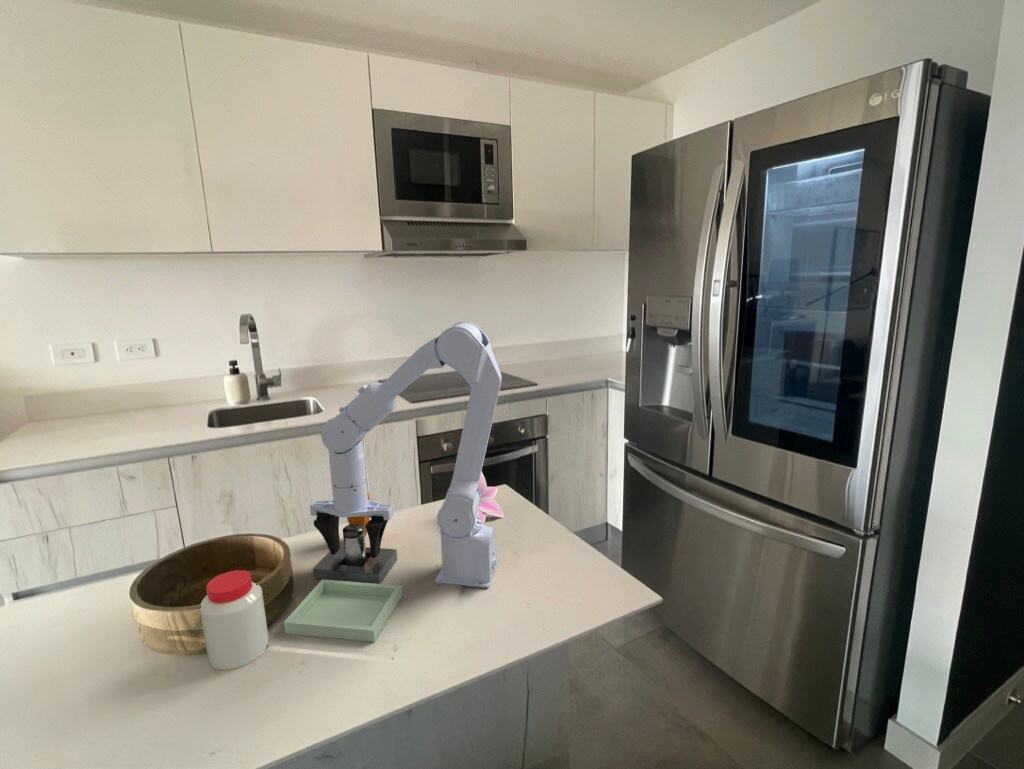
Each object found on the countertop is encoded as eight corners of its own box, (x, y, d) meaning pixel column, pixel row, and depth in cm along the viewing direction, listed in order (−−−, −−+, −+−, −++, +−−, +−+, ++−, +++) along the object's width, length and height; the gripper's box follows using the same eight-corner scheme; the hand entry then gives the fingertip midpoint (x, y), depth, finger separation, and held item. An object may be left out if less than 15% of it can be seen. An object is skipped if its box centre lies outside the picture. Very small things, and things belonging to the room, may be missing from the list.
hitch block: (397, 562, 97) (396, 549, 96) (380, 587, 89) (378, 573, 88) (336, 557, 99) (335, 545, 98) (314, 582, 91) (313, 568, 90)
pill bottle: (257, 624, 80) (248, 559, 78) (277, 649, 75) (268, 580, 72) (201, 650, 75) (189, 581, 73) (218, 679, 69) (206, 605, 67)
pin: (370, 564, 95) (367, 524, 93) (362, 575, 92) (358, 533, 90) (352, 563, 96) (348, 522, 94) (342, 574, 92) (338, 532, 90)
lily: (450, 537, 107) (468, 504, 103) (437, 496, 116) (453, 464, 112) (499, 540, 113) (519, 508, 110) (483, 500, 122) (501, 470, 118)
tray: (402, 598, 86) (401, 585, 85) (375, 645, 75) (373, 630, 75) (323, 592, 88) (322, 579, 87) (285, 636, 77) (283, 622, 77)
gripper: (397, 474, 93) (402, 544, 96) (321, 471, 95) (328, 539, 98) (381, 491, 86) (387, 565, 89) (300, 486, 88) (308, 559, 91)
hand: (355, 553), depth 93 cm, fingers open, 7 cm apart
